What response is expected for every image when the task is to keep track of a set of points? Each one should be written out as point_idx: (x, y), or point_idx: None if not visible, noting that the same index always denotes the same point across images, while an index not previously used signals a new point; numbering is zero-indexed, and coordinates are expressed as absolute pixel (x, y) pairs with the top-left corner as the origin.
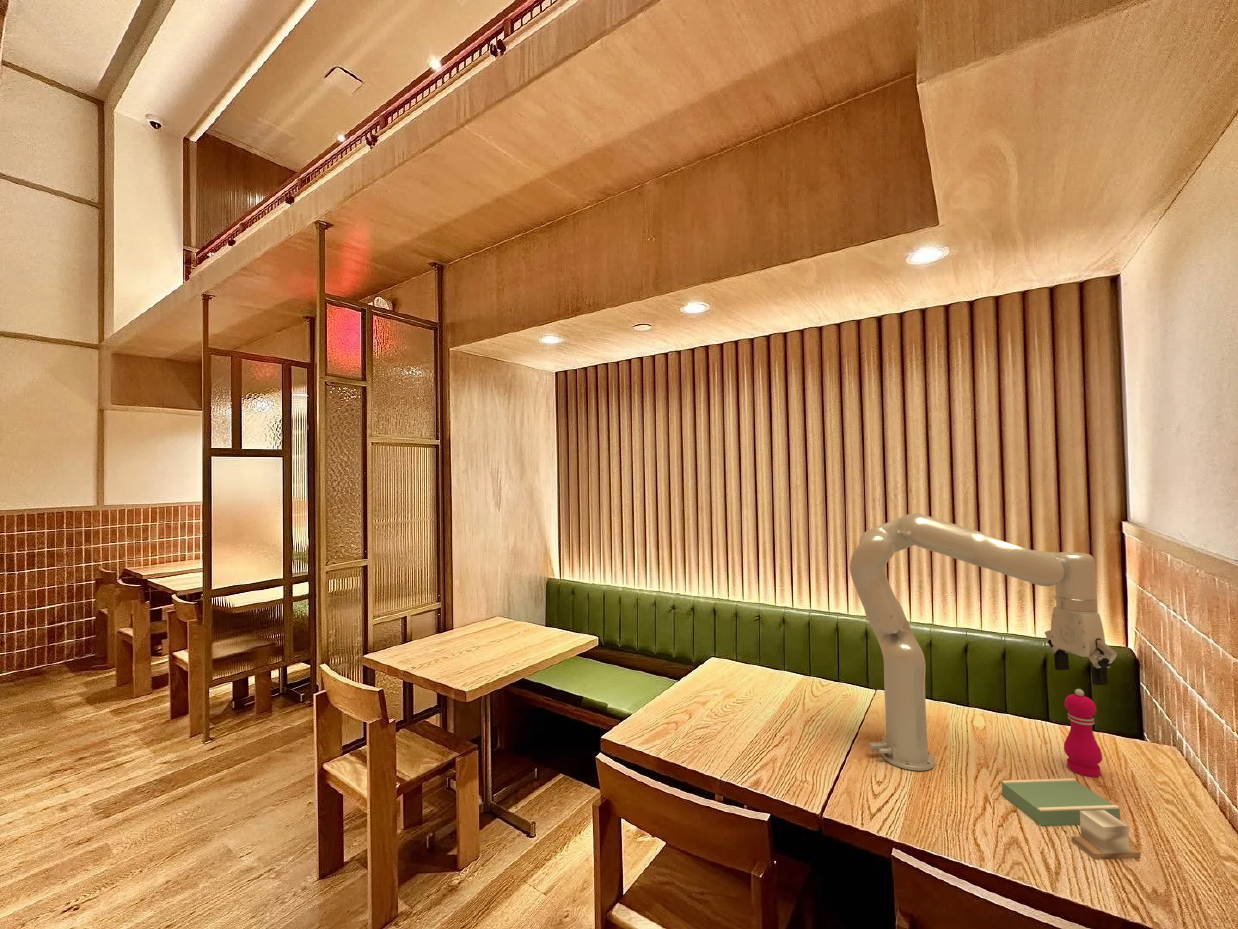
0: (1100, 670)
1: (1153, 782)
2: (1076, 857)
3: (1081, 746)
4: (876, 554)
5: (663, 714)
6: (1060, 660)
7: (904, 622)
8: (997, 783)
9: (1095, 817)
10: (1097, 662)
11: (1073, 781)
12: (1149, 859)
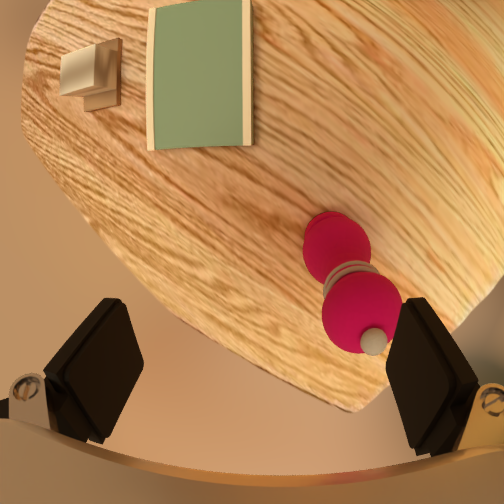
0: (46, 378)
1: (277, 316)
2: (96, 29)
3: (321, 240)
4: None
5: None
6: (421, 369)
7: None
8: (296, 24)
9: (78, 58)
10: (12, 409)
11: (243, 138)
12: (86, 122)
